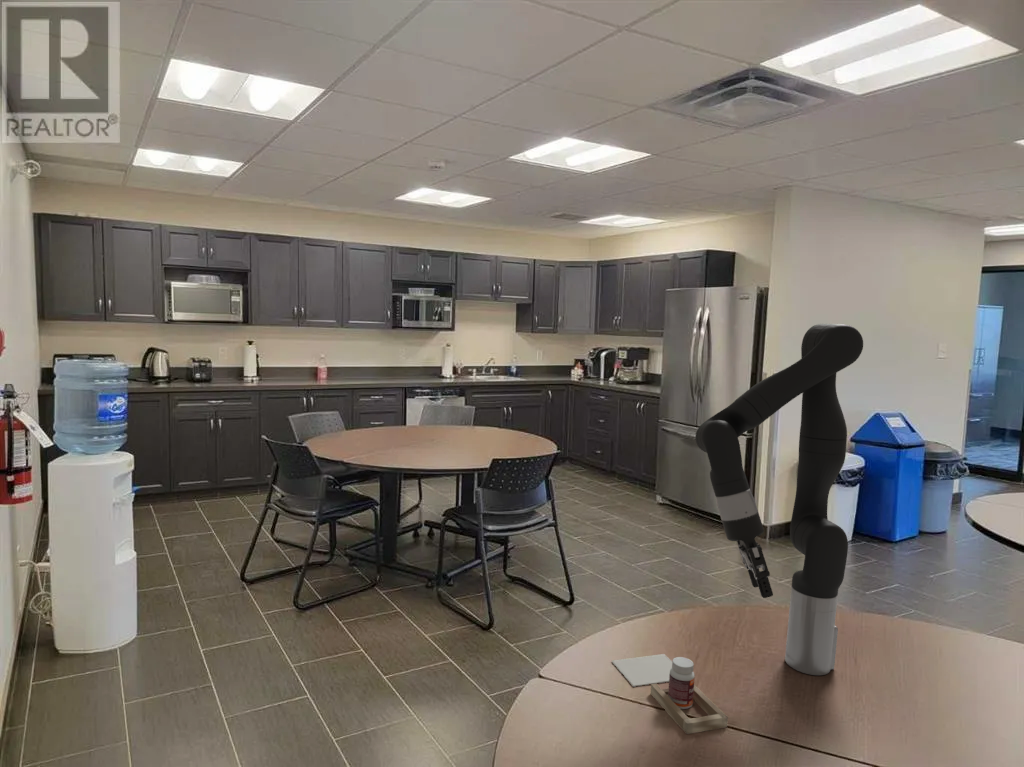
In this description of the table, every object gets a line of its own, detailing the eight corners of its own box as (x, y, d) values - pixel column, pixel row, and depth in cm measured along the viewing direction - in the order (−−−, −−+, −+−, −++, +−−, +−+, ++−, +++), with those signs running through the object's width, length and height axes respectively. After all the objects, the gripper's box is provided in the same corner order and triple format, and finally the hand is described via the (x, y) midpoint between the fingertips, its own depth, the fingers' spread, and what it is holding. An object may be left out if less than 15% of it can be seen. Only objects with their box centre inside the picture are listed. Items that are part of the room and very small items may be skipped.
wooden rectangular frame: (687, 688, 133) (688, 679, 133) (726, 727, 120) (727, 716, 120) (650, 693, 130) (651, 684, 130) (686, 734, 118) (687, 723, 118)
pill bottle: (693, 711, 125) (696, 670, 124) (668, 707, 126) (671, 666, 125) (691, 697, 129) (694, 657, 129) (667, 693, 130) (670, 654, 130)
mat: (664, 655, 146) (664, 653, 146) (689, 679, 136) (689, 677, 136) (611, 661, 142) (611, 660, 142) (633, 687, 132) (633, 685, 132)
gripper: (765, 514, 127) (790, 596, 126) (750, 505, 141) (773, 578, 140) (726, 523, 128) (751, 605, 127) (715, 513, 142) (738, 587, 141)
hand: (762, 591), depth 133 cm, fingers open, 8 cm apart
